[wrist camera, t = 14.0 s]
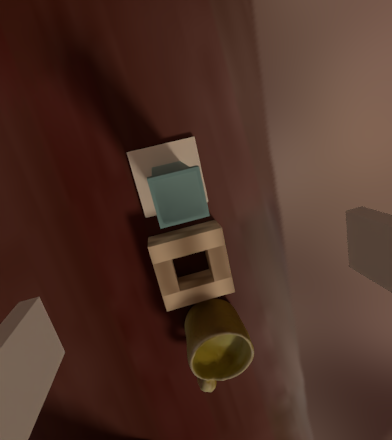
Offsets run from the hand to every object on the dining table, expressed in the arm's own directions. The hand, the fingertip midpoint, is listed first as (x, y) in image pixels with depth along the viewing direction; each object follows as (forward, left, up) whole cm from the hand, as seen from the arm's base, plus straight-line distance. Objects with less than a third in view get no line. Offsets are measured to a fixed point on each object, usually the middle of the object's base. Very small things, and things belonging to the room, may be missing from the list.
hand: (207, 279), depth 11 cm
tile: (0, +1, -27) cm, 27 cm away
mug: (0, -24, -27) cm, 36 cm away
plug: (0, +1, -26) cm, 26 cm away
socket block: (0, -11, -27) cm, 29 cm away
